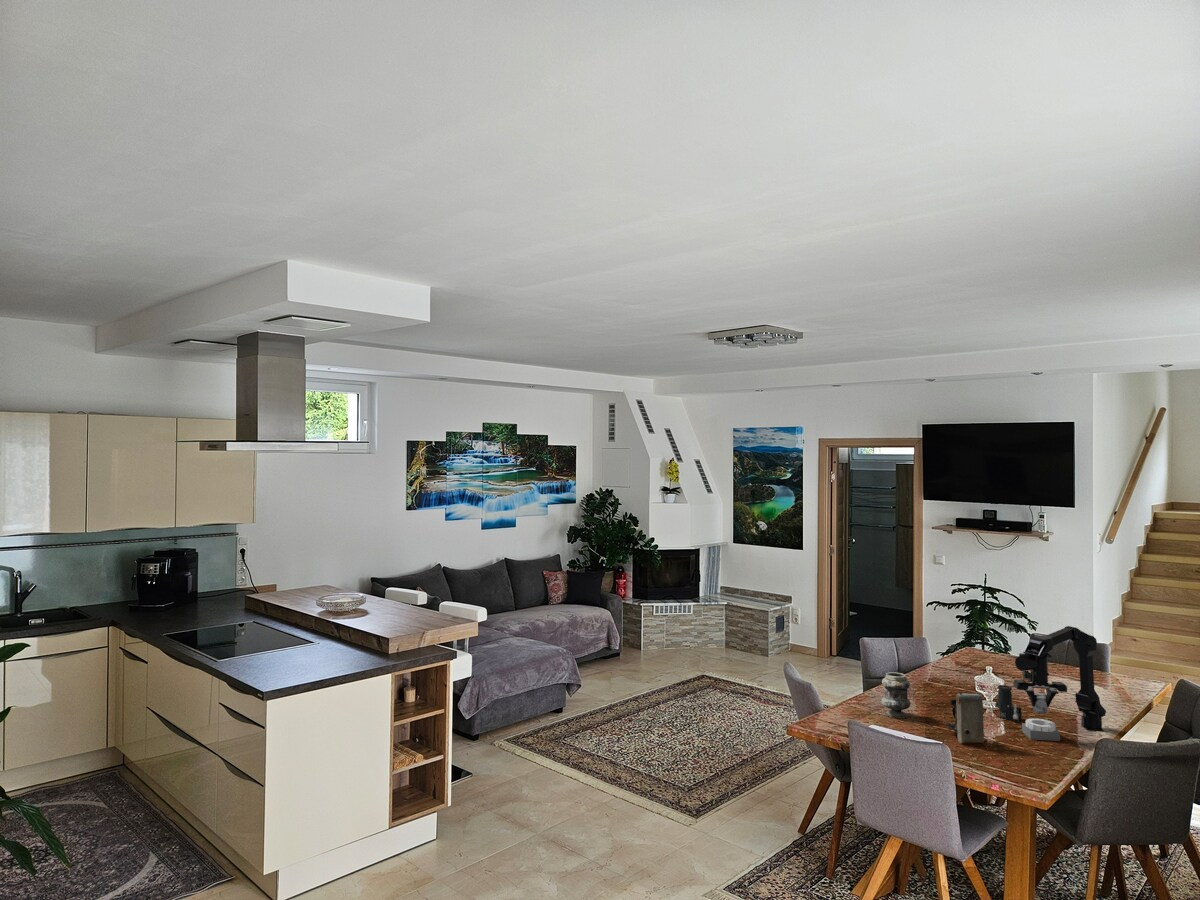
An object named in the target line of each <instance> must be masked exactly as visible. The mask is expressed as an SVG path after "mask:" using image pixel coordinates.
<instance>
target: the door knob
mask: <svg viewBox="0 0 1200 900" xmlns="http://www.w3.org/2000/svg"><path fill="white" fill-rule="evenodd" d="M1034 703H1035V704H1034V707H1033V706H1032V709H1033V710H1032V711H1033V712H1034V713H1036V714H1042V715H1043V714H1045V715H1046V714H1048V708H1047V693H1046V694H1045V693H1042V692H1034Z"/></svg>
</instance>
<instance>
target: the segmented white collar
mask: <svg viewBox="0 0 1200 900" xmlns="http://www.w3.org/2000/svg"><path fill="white" fill-rule="evenodd" d="M1056 725H1057V724H1056V723H1055V722H1054V721H1050V720H1048V719H1042V718H1027V719H1026V720H1025V722H1021V732H1022V733H1023V734H1024V735H1025V736H1026V737H1027V738H1028V739H1029V740H1034V741H1035V740H1037V741H1050V742H1051V741H1053V742H1061V732H1060V731H1059V730H1058V729H1057V727H1056Z"/></svg>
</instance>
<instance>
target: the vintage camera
mask: <svg viewBox="0 0 1200 900" xmlns="http://www.w3.org/2000/svg"><path fill="white" fill-rule="evenodd" d="M949 702H950V706H953V707H952V710H951V712H952V715H953V716H952V717H953V718H954V719H955V720H954V721H955V723H951V722H949V721H948V722H947V723H944V725H945V726H947V727H948V728H949V729H950V730H952V731H954V733H955V734H957V741H958V743H959V744H963V745H964V744H965V745H967V744H968V745H969V744H972V745H973V744H984V741H985V733H984V732H985V731H984V730H985V729H984V701H983V696H982V694H981V692H973V693H965V692H964V693H961V692H958V693H957V694H956V697H955V699H951V700H949Z"/></svg>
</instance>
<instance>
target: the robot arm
mask: <svg viewBox="0 0 1200 900" xmlns="http://www.w3.org/2000/svg"><path fill="white" fill-rule="evenodd" d="M1069 640H1070V641H1071V642H1072V644H1073V648H1074V650H1075V652H1076V654H1078V665H1079V666H1078V667H1079V669H1078V670H1079V683H1080V689H1079V691H1078V692H1076V693H1075V695H1074V696H1075V703H1076V706H1077V708H1078V712H1080V713H1082V715H1081V716H1080V718H1081V719H1080V720H1081V723H1080V726H1081V727H1083V728H1084V729H1085V730H1087V731H1097V732H1100V731H1102V732H1104V728H1103V722H1102V720H1103V718H1104V717H1106V713H1107V710H1106V709H1105V707H1103V705H1102V704H1101V701H1100V700H1101V699H1100V696H1099V694H1098V693H1097V692H1096V689H1095V678H1094V677H1095V676H1094V661H1093V658H1094V657H1093V656H1094V655H1095V653H1096V652H1097V646H1098V644H1097V643H1098V640H1097V638H1096V637H1095V636H1094V635H1091V634H1088V633H1086V632H1085V631H1082V630H1081V629H1080V628H1078V627H1074V626H1071V625H1067V626H1065V627H1064V628H1061V629H1059V630H1056V631H1054V632H1053V631H1052V632H1051V633H1049V634H1047V635H1035V636H1031V637H1029V640H1028V642H1027V643H1026V645H1025V648H1024V650H1023V652H1022V653H1021V652H1020V653H1018V656H1017V657H1016V658H1015V661H1014V664H1015V667H1016V668H1017V670H1019V671H1021V672H1022V678H1023V679H1014V680H1013V687H1014V688H1015V689H1016V690H1019V691H1024V692H1026V694H1027V696H1028V699H1029V701H1030V704H1031V707H1032V708H1033V707H1034V704H1035V703H1034V693H1035V691H1034V690H1033V689H1034V688H1035V689H1045V691H1046V695H1047V709H1048V708H1049V707H1050V705H1051V703H1052V701H1053V700H1054V698H1055V696H1056V695H1057V694H1059V692H1060V693H1068V686H1067V685H1066V684H1065V683H1064V682H1063V681H1051V683H1049V676H1050V674H1049V670H1048V667H1049V665H1048V664H1049V661H1048V659H1049V658H1052V654H1050V653H1049V652H1051V651H1053V650H1054V647H1056V645H1057V646H1058V645H1060V644H1062V643H1064V642H1066V641H1069ZM1024 679H1025V680H1024ZM1026 680H1027V682H1026Z"/></svg>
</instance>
